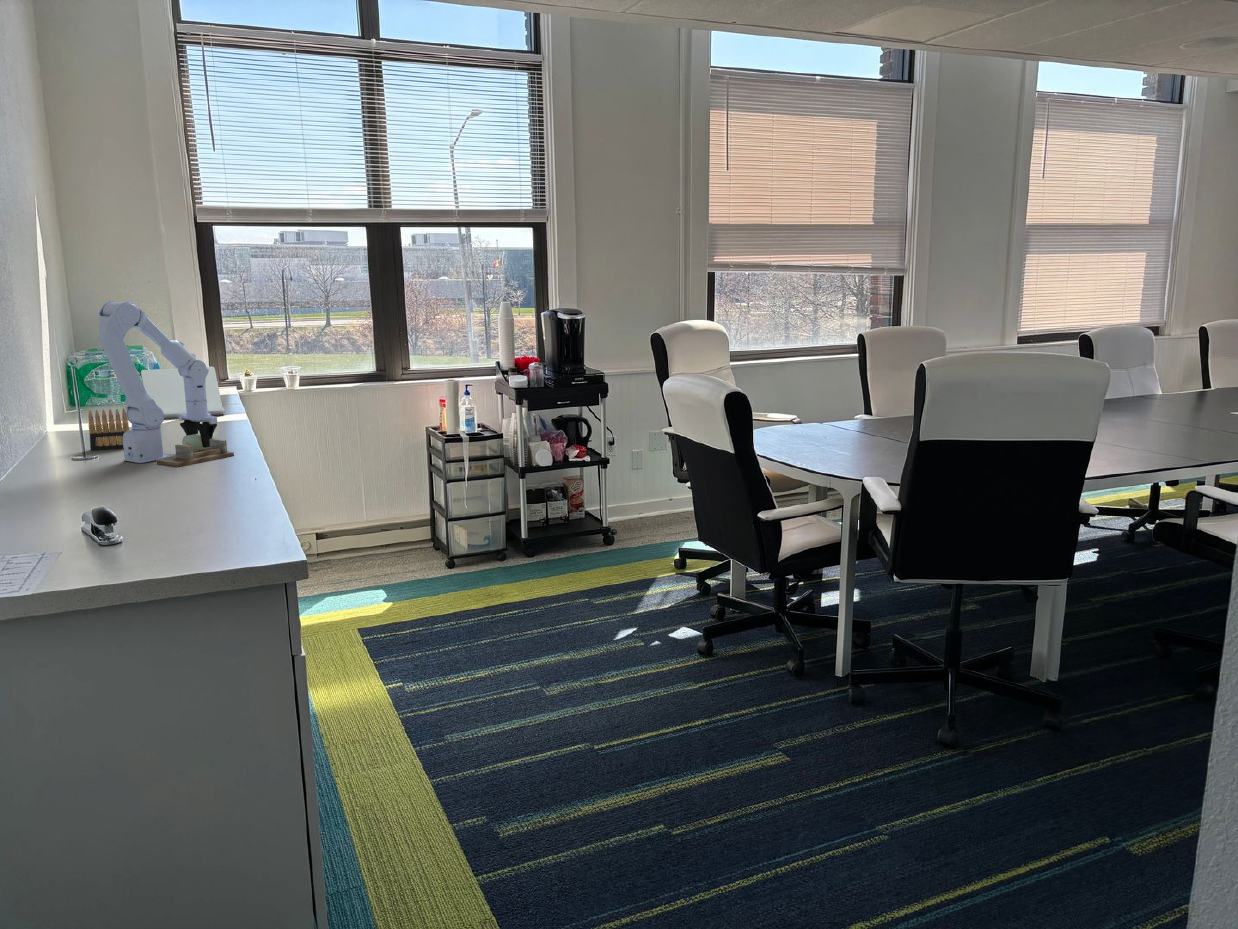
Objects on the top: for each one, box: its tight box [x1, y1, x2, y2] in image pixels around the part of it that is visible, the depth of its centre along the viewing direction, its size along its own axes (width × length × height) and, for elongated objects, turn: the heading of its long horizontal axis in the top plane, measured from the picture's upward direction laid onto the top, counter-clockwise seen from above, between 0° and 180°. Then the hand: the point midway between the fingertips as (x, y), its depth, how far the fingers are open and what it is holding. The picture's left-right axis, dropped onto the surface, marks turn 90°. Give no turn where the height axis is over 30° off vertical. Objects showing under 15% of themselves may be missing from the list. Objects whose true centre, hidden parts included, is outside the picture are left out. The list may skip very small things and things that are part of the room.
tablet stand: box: [140, 366, 226, 420], centre depth 337 cm, size 18×25×17 cm
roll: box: [181, 432, 218, 451], centre depth 270 cm, size 8×5×5 cm, turn 151°
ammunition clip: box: [88, 408, 130, 452], centre depth 272 cm, size 11×2×12 cm, turn 114°
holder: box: [156, 438, 235, 468], centre depth 257 cm, size 18×9×4 cm, turn 151°
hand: (200, 446), depth 270 cm, fingers closed on roll, 5 cm apart
